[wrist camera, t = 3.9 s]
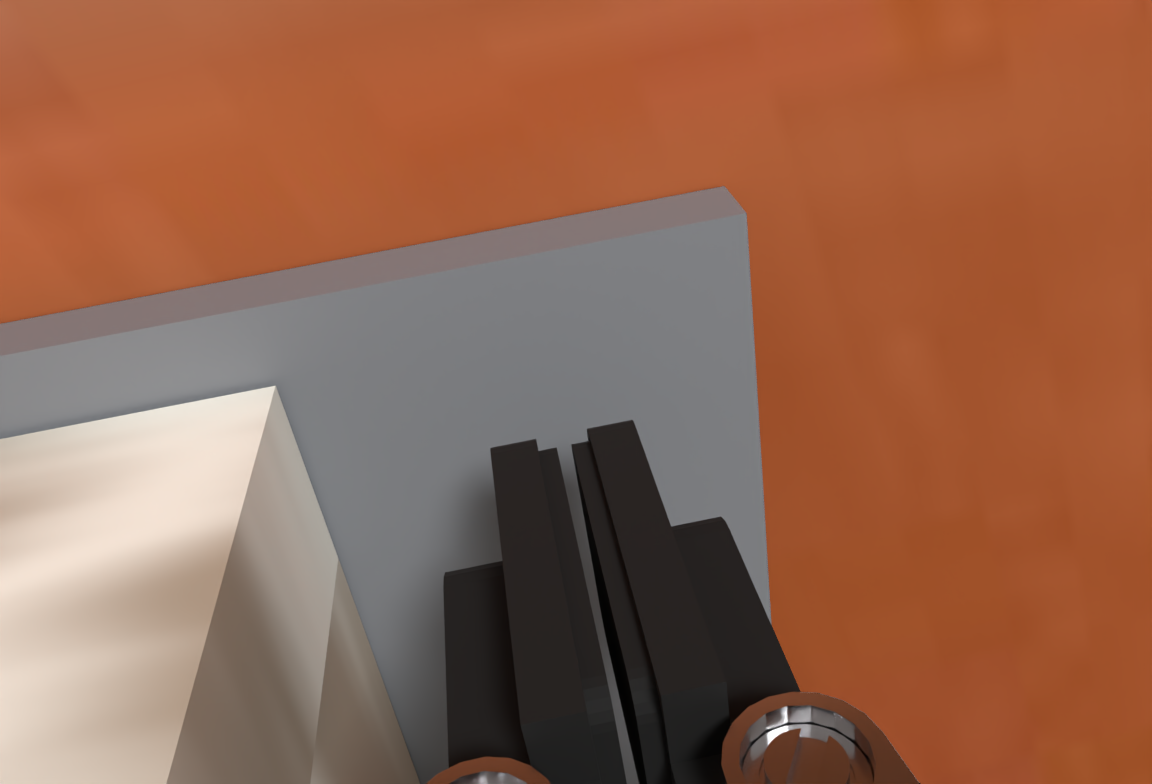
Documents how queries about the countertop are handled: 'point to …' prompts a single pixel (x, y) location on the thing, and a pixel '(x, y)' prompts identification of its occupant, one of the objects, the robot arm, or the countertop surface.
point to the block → (181, 609)
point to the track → (450, 396)
